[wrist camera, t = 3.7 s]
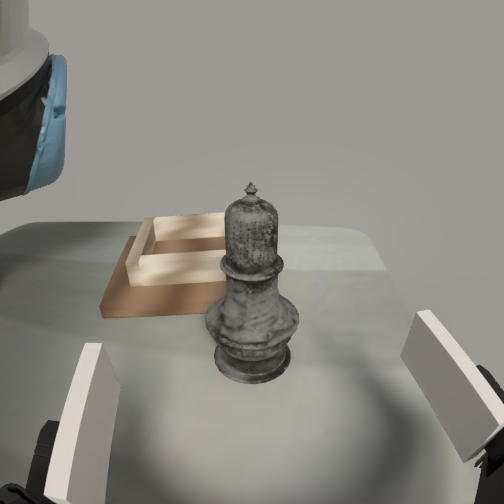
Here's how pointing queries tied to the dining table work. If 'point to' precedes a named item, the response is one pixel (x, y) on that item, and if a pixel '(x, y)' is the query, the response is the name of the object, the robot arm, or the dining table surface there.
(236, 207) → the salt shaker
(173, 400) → the dining table surface
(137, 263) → the caddy
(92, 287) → the dining table surface
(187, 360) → the dining table surface
